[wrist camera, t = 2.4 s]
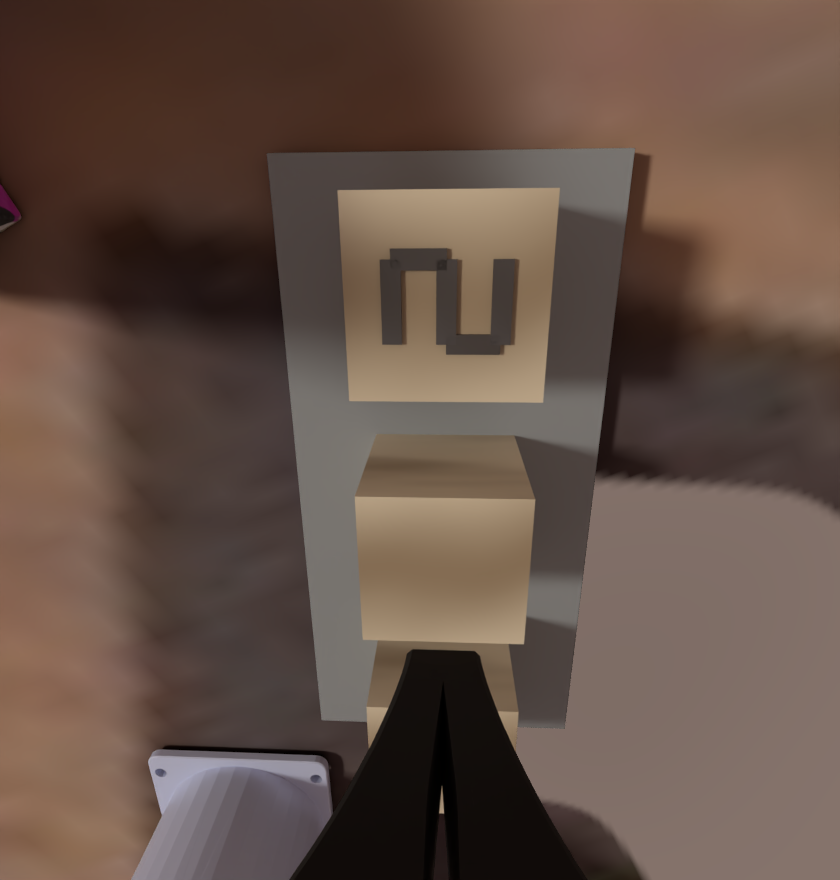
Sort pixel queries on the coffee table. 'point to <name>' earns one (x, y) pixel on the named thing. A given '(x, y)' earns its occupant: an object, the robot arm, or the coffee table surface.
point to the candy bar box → (7, 211)
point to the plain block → (444, 539)
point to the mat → (533, 424)
